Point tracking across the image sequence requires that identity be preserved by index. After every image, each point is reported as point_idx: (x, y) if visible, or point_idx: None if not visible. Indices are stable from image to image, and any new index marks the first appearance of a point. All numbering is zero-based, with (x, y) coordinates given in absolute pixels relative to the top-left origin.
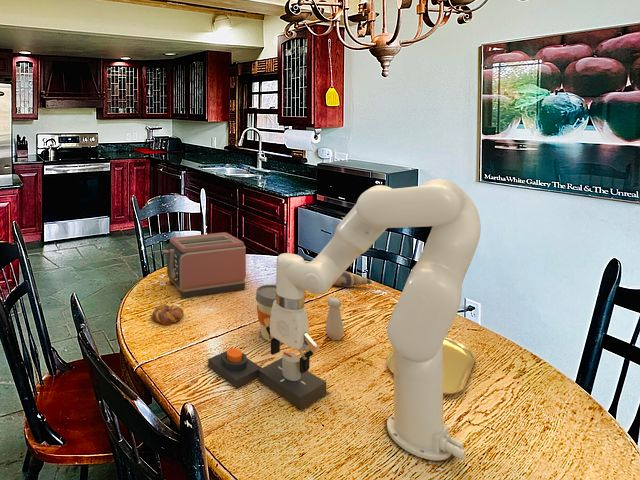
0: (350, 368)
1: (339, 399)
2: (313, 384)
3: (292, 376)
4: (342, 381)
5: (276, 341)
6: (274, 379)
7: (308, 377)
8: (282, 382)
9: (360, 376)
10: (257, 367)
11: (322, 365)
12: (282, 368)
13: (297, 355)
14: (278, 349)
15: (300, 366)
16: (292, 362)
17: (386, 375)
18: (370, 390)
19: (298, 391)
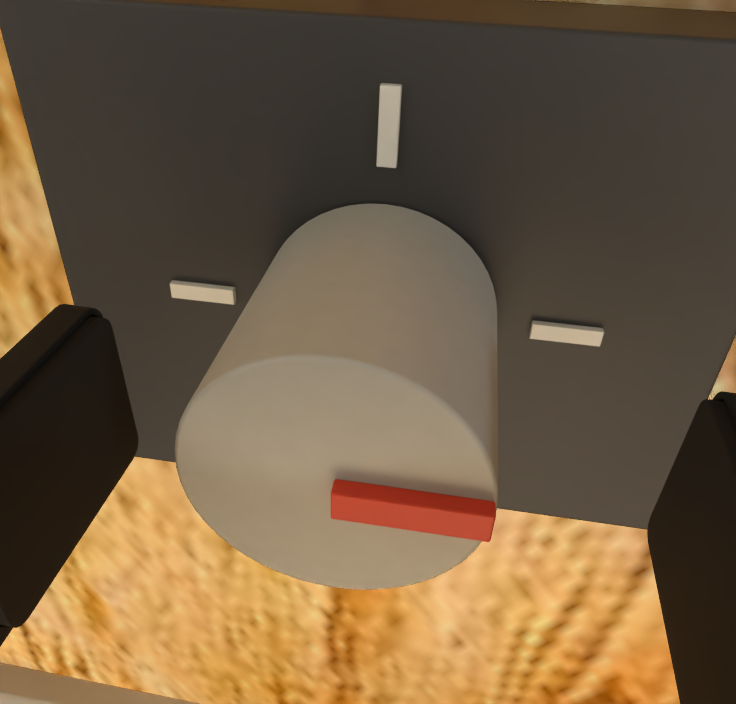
0: (265, 667)
1: None
2: (132, 344)
3: (283, 254)
4: (201, 553)
5: (732, 687)
6: (490, 44)
7: None
8: (360, 84)
9: (181, 638)
10: None
11: (397, 616)
12: (465, 286)
13: (306, 573)
14: (664, 547)
15: (13, 365)
16: (206, 382)
17: None
18: (59, 571)
19: (105, 94)
